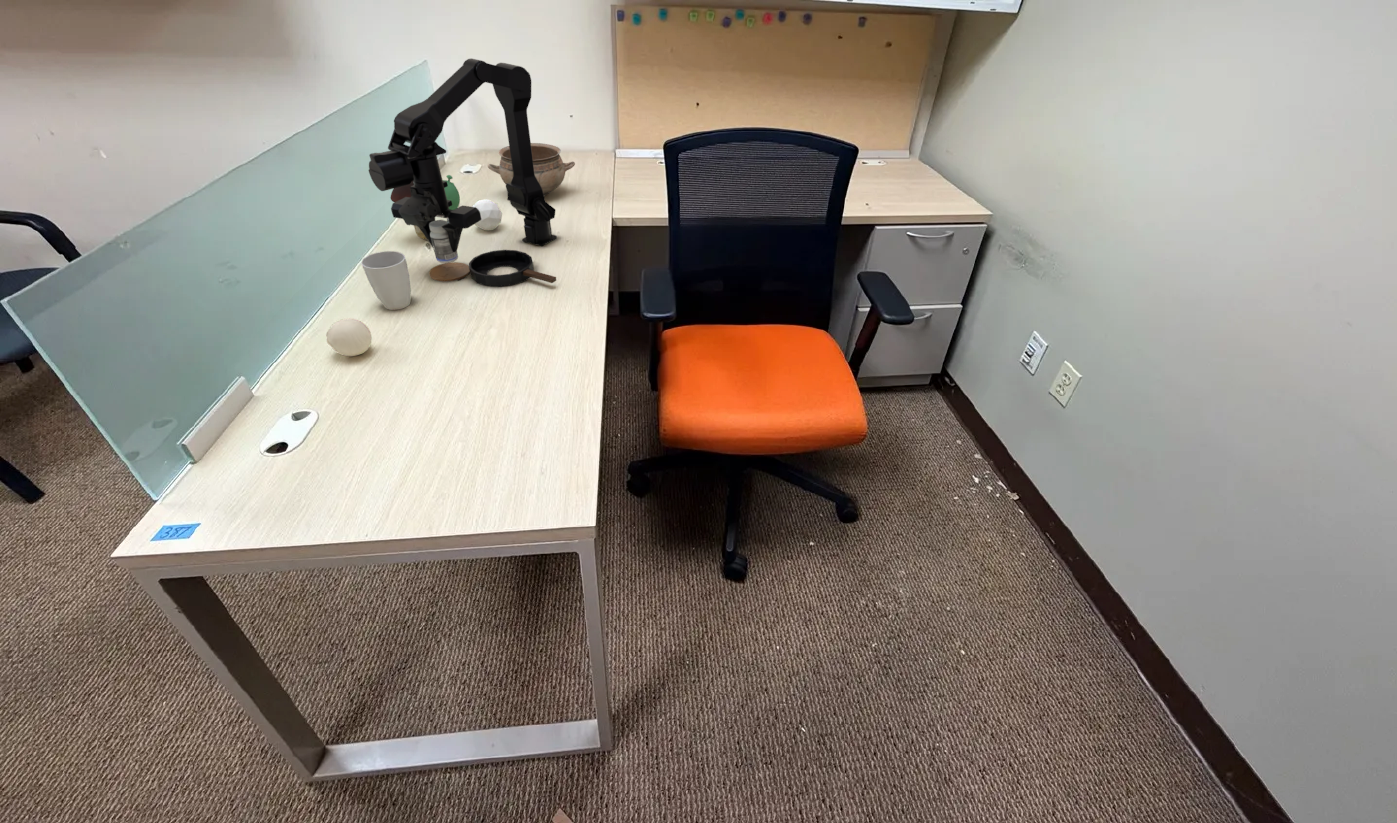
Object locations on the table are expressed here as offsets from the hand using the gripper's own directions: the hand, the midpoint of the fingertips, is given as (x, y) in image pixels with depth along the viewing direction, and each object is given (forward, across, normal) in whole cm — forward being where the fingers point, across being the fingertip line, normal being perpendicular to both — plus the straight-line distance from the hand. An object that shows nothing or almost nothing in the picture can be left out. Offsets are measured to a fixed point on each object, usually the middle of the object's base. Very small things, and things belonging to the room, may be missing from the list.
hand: (445, 249), depth 135 cm
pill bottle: (+2, 0, 0) cm, 2 cm away
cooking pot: (+6, -8, +55) cm, 56 cm away
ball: (+6, -6, +26) cm, 27 cm away
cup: (+6, -1, -17) cm, 18 cm away
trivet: (+6, 0, 0) cm, 6 cm away
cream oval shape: (+6, +4, -35) cm, 35 cm away
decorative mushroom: (+6, -17, +15) cm, 23 cm away
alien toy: (+6, -23, +33) cm, 41 cm away
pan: (+6, +15, +3) cm, 16 cm away
